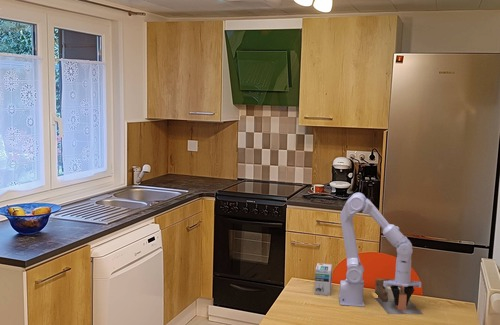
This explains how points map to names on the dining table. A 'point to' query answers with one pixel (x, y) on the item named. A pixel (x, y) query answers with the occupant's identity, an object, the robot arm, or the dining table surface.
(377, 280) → the panel
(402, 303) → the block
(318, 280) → the light bulb box
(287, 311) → the dining table surface
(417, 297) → the dining table surface
